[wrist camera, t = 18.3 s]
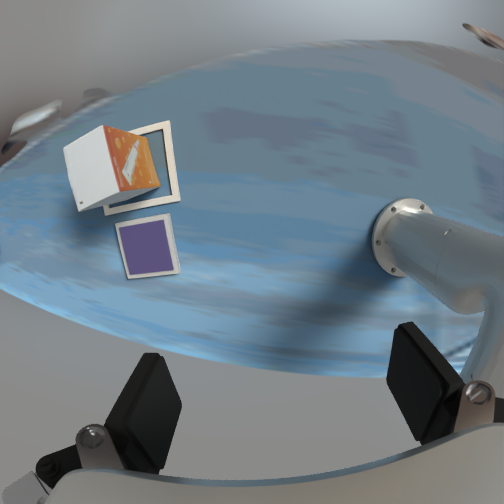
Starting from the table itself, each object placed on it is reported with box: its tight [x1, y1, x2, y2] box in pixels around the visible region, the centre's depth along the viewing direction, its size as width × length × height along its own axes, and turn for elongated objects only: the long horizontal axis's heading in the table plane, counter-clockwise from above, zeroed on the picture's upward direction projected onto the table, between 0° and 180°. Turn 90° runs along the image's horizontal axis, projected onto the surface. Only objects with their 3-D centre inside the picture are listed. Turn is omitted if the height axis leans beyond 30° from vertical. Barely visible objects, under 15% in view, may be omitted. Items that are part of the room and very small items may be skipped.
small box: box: [63, 125, 161, 212], centre depth 31 cm, size 8×6×13 cm
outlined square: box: [103, 120, 181, 216], centre depth 37 cm, size 13×12×1 cm
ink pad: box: [115, 213, 181, 279], centre depth 40 cm, size 9×9×1 cm
